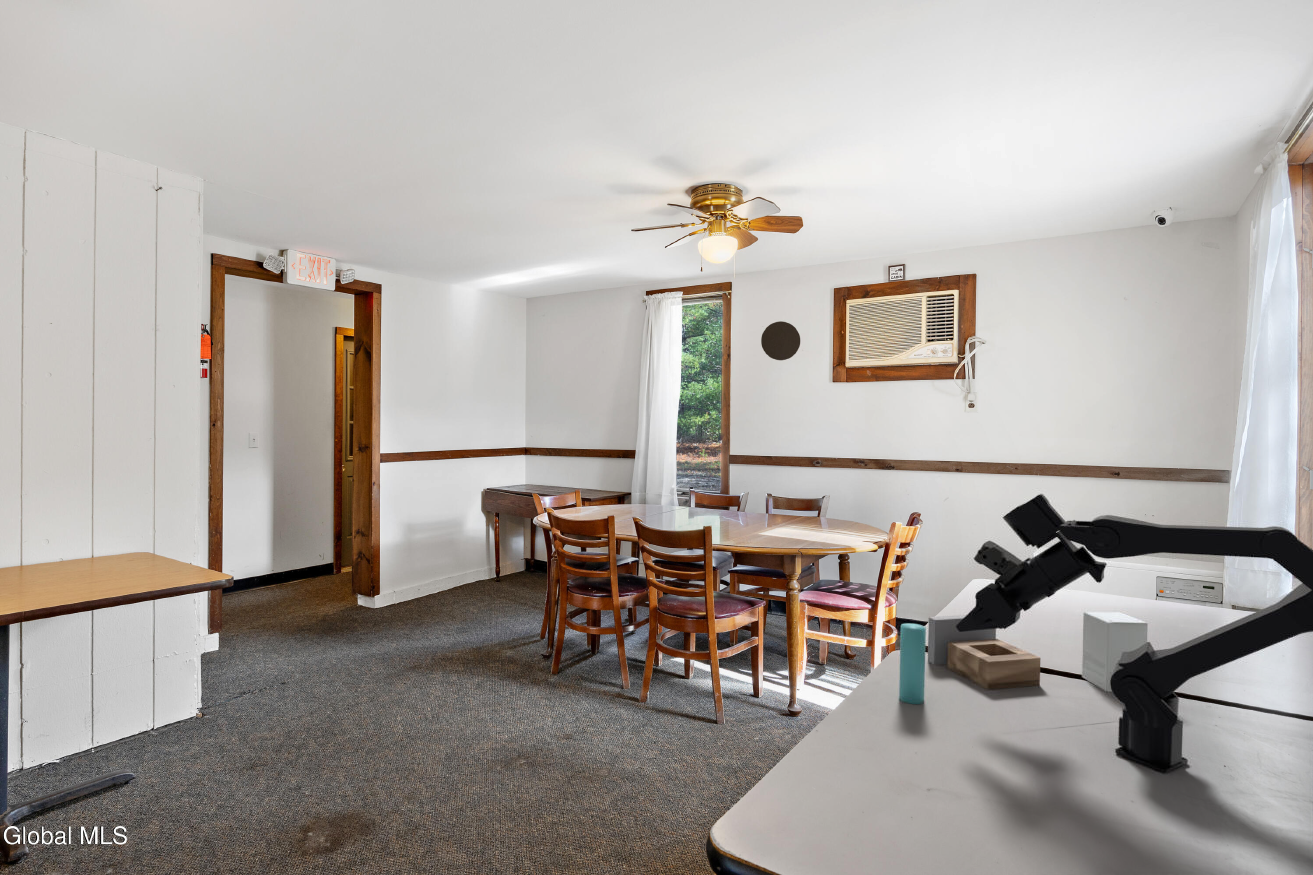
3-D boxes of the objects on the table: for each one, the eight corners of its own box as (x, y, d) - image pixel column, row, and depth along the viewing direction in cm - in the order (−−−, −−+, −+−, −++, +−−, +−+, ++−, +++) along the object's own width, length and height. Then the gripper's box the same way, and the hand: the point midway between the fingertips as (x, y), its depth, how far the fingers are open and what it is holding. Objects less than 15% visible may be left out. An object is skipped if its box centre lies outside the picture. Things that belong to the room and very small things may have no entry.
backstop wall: (995, 660, 136) (996, 616, 135) (934, 665, 132) (935, 619, 132) (988, 657, 138) (989, 613, 137) (927, 662, 134) (928, 617, 134)
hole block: (1039, 685, 123) (1040, 657, 123) (987, 689, 120) (988, 661, 120) (995, 663, 133) (996, 638, 133) (947, 667, 131) (948, 642, 131)
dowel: (929, 701, 115) (930, 628, 115) (912, 705, 113) (914, 631, 113) (910, 693, 118) (911, 622, 118) (894, 697, 117) (895, 625, 116)
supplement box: (1147, 693, 120) (1149, 623, 120) (1105, 692, 120) (1107, 622, 120) (1120, 678, 127) (1122, 611, 127) (1080, 677, 128) (1082, 610, 127)
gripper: (1023, 522, 114) (948, 572, 122) (998, 535, 100) (915, 591, 107) (1072, 578, 110) (991, 626, 118) (1053, 600, 95) (962, 653, 103)
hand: (965, 622), depth 111 cm, fingers open, 9 cm apart
